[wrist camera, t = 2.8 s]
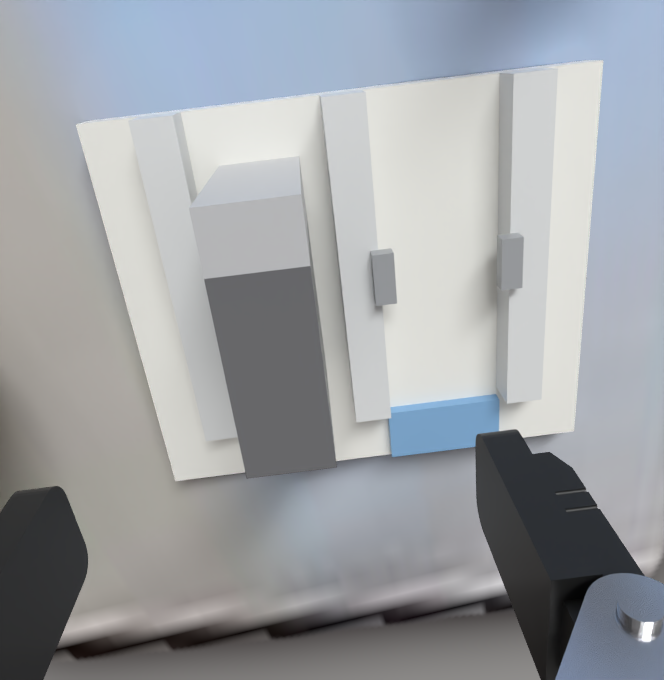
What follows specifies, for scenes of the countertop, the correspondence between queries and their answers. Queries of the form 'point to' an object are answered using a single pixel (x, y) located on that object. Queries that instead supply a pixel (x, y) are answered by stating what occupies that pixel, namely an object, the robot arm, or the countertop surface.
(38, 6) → the countertop surface
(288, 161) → the grey rectangular block
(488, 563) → the countertop surface
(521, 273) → the board
